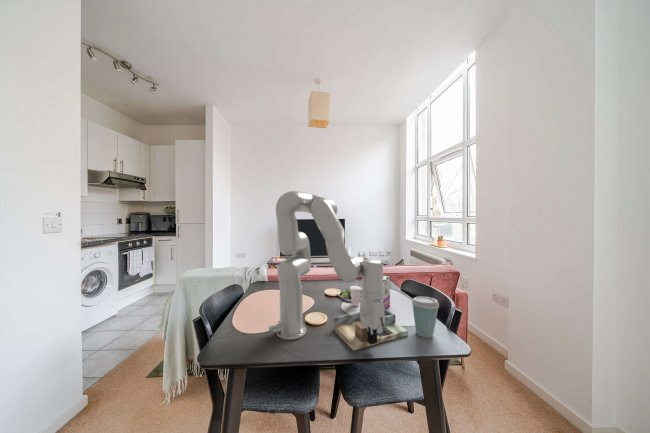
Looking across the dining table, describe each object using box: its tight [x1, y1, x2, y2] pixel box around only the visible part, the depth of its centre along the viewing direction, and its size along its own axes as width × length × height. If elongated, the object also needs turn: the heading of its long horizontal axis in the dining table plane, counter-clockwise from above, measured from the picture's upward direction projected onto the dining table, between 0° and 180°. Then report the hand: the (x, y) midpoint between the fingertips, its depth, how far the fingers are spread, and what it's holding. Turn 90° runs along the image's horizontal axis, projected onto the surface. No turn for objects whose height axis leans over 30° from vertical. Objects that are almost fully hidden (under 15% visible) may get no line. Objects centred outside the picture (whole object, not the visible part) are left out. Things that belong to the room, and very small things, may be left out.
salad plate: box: [337, 286, 362, 303], centre depth 140 cm, size 19×18×5 cm
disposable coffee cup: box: [411, 296, 440, 339], centre depth 98 cm, size 11×11×15 cm
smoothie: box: [349, 279, 362, 307], centre depth 129 cm, size 6×6×14 cm
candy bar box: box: [382, 275, 391, 310], centre depth 124 cm, size 11×5×16 cm, turn 143°
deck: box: [333, 308, 409, 351], centre depth 100 cm, size 26×17×6 cm, turn 114°
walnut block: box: [355, 322, 368, 342], centre depth 92 cm, size 5×5×5 cm
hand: (372, 342), depth 87 cm, fingers closed
